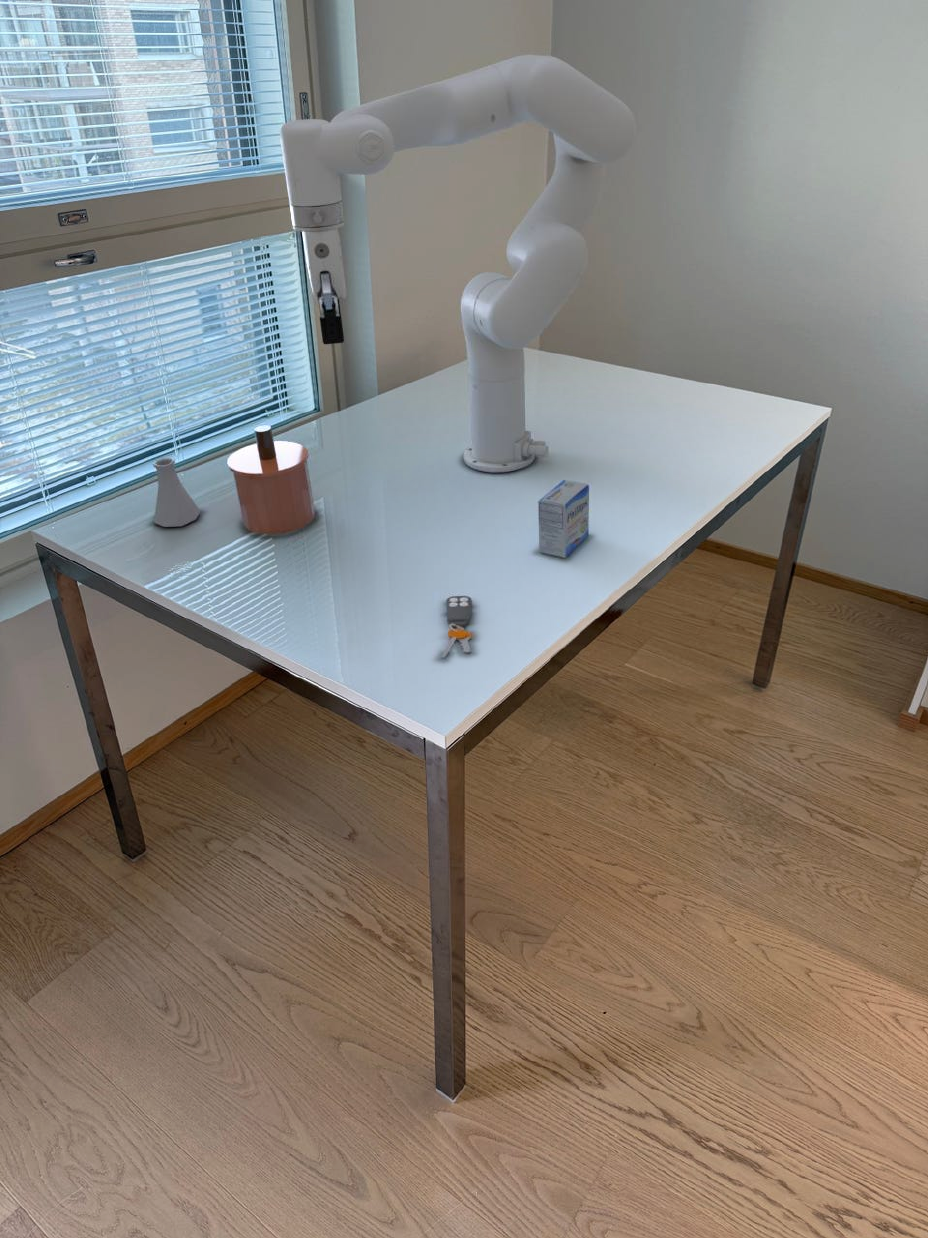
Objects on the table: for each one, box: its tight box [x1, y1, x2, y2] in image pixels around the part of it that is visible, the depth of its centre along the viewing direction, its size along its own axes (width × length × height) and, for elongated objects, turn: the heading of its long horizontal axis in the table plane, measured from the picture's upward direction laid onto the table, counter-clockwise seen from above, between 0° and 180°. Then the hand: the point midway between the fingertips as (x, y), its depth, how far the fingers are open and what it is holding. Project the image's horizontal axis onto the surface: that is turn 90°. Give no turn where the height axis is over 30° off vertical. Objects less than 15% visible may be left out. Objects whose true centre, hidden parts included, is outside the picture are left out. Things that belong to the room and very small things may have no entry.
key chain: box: [441, 595, 473, 658], centre depth 123 cm, size 13×4×2 cm, turn 179°
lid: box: [226, 424, 309, 477], centre depth 145 cm, size 12×12×6 cm
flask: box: [152, 457, 201, 528], centre depth 152 cm, size 7×7×10 cm
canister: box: [232, 460, 316, 535], centre depth 149 cm, size 11×12×10 cm
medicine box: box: [537, 479, 590, 559], centre depth 138 cm, size 8×4×9 cm, turn 148°
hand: (332, 333), depth 147 cm, fingers open, 9 cm apart
